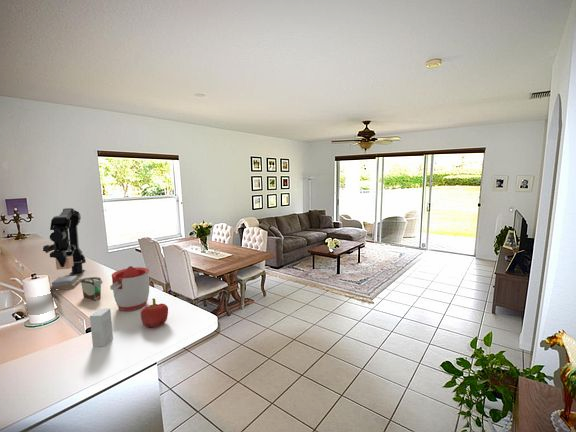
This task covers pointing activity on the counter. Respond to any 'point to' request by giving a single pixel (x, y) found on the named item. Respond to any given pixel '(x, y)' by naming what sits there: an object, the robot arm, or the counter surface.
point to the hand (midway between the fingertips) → (64, 265)
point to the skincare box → (101, 327)
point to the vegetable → (154, 314)
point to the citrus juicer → (130, 287)
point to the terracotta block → (67, 264)
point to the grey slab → (64, 281)
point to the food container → (91, 288)
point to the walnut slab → (67, 285)
